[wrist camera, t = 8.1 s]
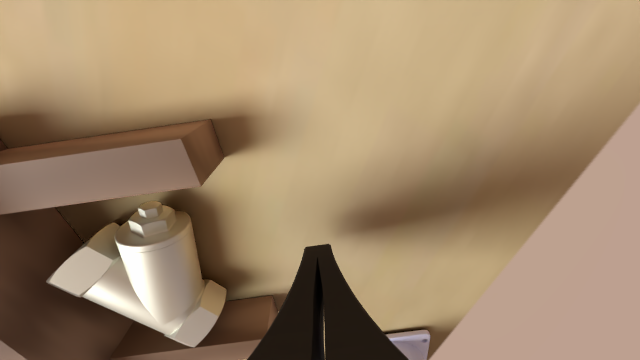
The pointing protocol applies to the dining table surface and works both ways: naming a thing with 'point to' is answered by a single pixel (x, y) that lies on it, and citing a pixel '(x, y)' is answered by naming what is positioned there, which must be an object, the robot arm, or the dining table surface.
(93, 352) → the fitting jig
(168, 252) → the pipe fitting
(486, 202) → the dining table surface
